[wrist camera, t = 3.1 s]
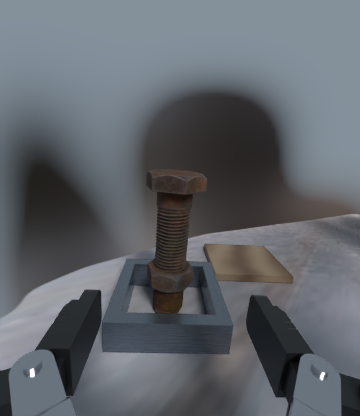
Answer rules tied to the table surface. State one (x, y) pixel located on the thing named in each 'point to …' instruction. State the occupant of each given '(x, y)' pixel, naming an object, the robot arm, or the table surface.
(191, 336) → the steel collar
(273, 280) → the tan pad
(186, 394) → the table surface
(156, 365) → the table surface
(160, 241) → the bolt
